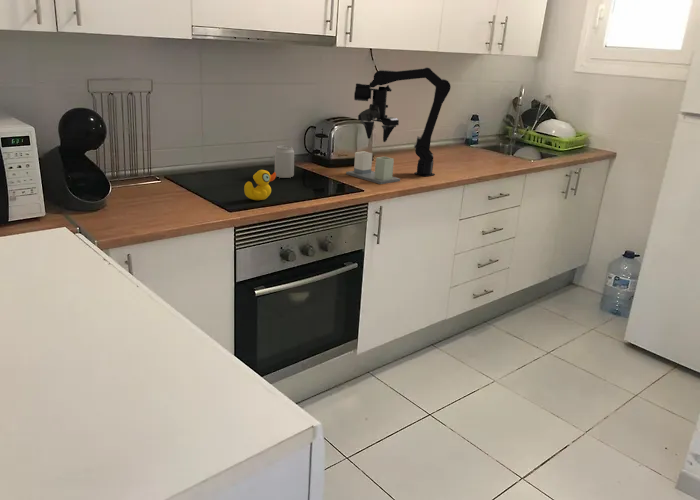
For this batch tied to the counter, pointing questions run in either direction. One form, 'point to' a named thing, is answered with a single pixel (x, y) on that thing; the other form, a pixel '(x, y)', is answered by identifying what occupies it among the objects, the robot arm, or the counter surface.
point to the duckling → (259, 185)
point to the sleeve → (363, 162)
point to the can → (284, 162)
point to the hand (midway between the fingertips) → (376, 140)
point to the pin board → (379, 172)
